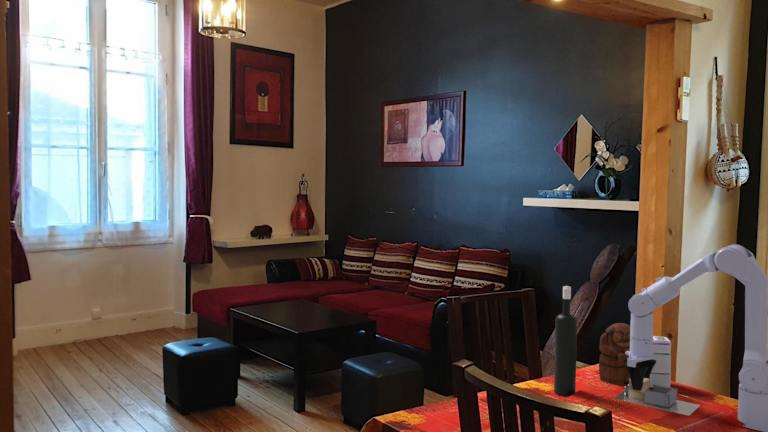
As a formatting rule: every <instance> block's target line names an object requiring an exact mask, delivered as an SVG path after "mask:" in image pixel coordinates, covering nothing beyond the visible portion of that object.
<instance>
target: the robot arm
mask: <svg viewBox="0 0 768 432" xmlns="http://www.w3.org/2000/svg"><path fill="white" fill-rule="evenodd" d="M718 271H721V272H723V273H725V274H727V275H729V276H732V277H734V278H736V280H738V281H739V282H740V283H741V284H743V285H744V287H745V289H744V290H745V291H744V354H743V359H742V367H741V369H740V371H739V373H738V381H739V384H738V401H737V402H738V404H737V406H738V407H737V420H738V421H739V422H741V423H743V425H742V426H741V427H742V428H745V429H750V430H753V431H754V430H755V431H759V432H768V275H767V273H766V272H765V270H764V269H763V267H762V265H760V263H759V262H758V261H757V259H756V257H755V255H754V253H753V252H751V251H750V250H749V249H747V248H746V247H744V246H743V245H740V244H735V243H734V244H729V245H727V246H725V247H724V246H723V247H722V248H720V249H718V250H717V251H714V252H712V253H709V254H707V255H705V256H703V257H701V258H699V259H697V260H696V261H695V262H693V263H692V264H691V265H688V267H686V268H684V269H683V270H682V271H681V272H679V273H678V274H676V275H674V276H673V277H671V276H663V277H661V276H659V277H657V278H655V282H654V283H652V284H651V285H650V286H648V287H643V288H642V289H640V291H641V292H640V293H638V294H637V293H636V294H633V295H632V297H631V298H630V299H629V300H628V304H627V305H628V310H629V311H630V324H629V325H630V351H626V352H625V354H626V355H629V358H628V359H627V362H626V363H625V367H626V368H627V370H628V373H629V375H630V379H631V384H632V388H633V389H634V390H639V391H641V389H642V386H643V380H644V378H650V374H651V371H652V369H653V367H654V365H655V364H656V360H653V356H654V349H653V336H654V312H655V310H656V309H657V308H660V307H662V306H664V305H666V304H667V303H668V302H671V300H673V299H675V298H677V296H679V295H680V294H681V288H682V287H683V286H685V285H686V284H688V283H690V282H692V281H693V280H696V279H697V278H699V277H700V276H702V275H704V274H706V273H717V272H718Z"/></svg>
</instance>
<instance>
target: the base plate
mask: <svg viewBox="0 0 768 432" xmlns="http://www.w3.org/2000/svg"><path fill="white" fill-rule="evenodd" d="M623 386H624V385H623ZM623 389H624V390H623V392H620V393H619V394H617V395H616V396H615V397H613V399H615V400H619V401H624V402H628V403H633V404H635V405H640V406H645V407H650V408H655V409H658V410H663V411H668V412H670V413H676V414H679V415H684V416H689V417H690V415H692V414H693V413H694V412H695V411H696V410H698V409H699V408H700V406H701V404H697V403H692V402H687V401H684V400H678V399H677V401H675V402H674V403H673V404H672V405H671V406H669V407H665V406H661V405H656V404H652V403H647V402H644V401H645V400H644V401H643V400H639V399H634V398H630V397H629V384H627V385H625V386H624V388H623Z"/></svg>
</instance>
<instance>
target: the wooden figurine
mask: <svg viewBox="0 0 768 432" xmlns="http://www.w3.org/2000/svg"><path fill="white" fill-rule="evenodd" d="M598 350H599V352H600V354H599V360H598V361H599V363H598V375H599V380H600V382H604V383H606V384H609V385H616V386H617V385H618V386H624V385H628V384H629V379H630V375H629V373H628V370H627V368H626V367H625V363H626V362H627V359H628V358H629V355H626V354H625V352H626V351H630V324H627V323H624V322H616V323H613V324H610V326H608V327H607V328H606V329H605V332H603V333H602V334H601V336H599V347H598Z"/></svg>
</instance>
